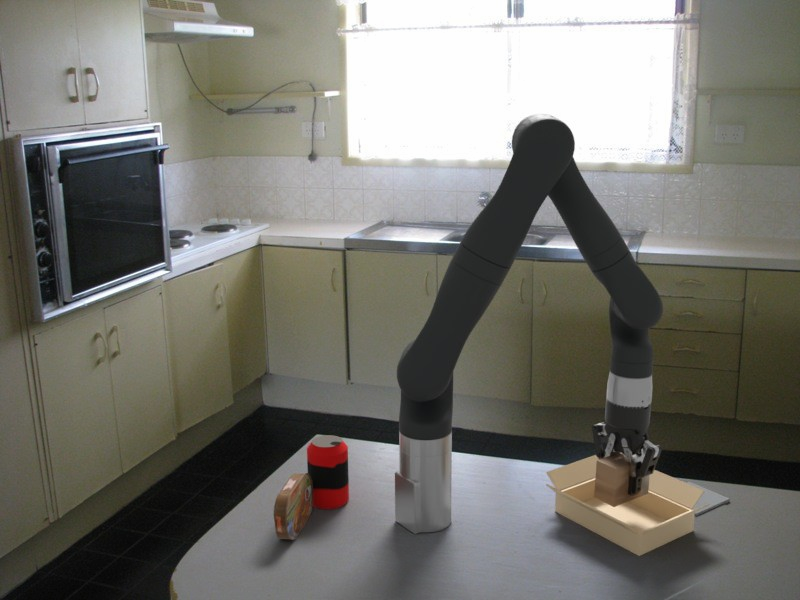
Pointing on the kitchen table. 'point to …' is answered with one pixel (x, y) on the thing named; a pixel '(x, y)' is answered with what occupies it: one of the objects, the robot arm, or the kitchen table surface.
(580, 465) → the carton
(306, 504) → the tin
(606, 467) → the tan rectangular block
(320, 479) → the soda can
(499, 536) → the kitchen table surface
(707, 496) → the mat
